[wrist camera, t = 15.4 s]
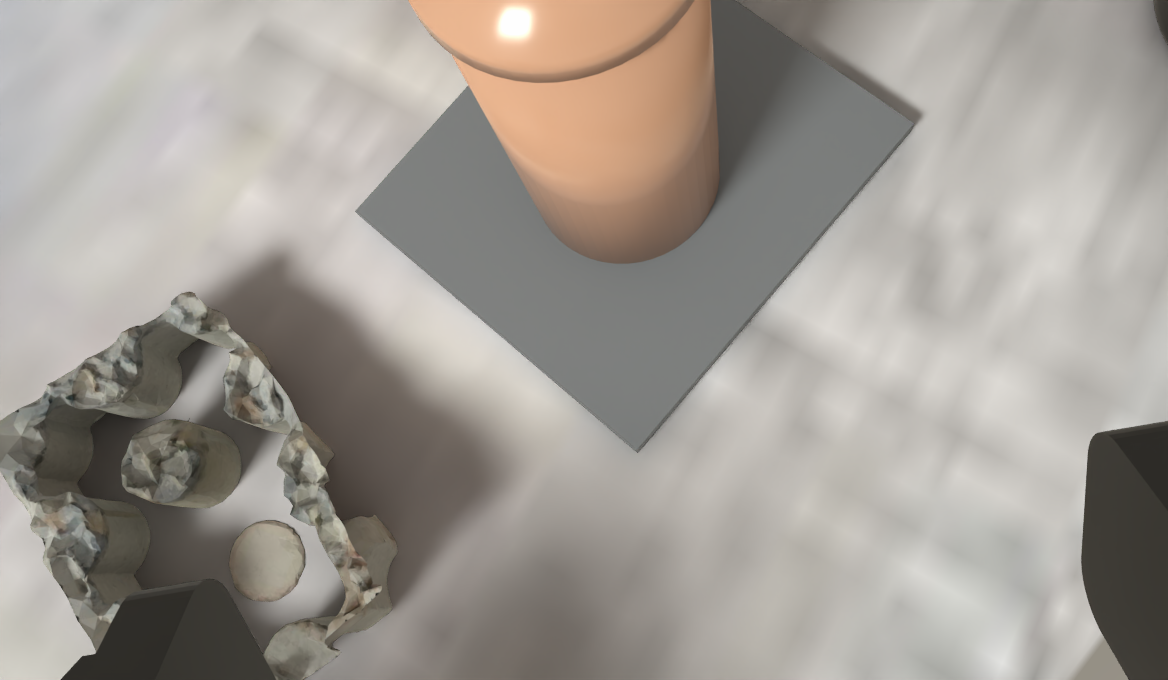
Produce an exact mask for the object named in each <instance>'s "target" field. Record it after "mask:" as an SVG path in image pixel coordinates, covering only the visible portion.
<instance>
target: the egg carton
mask: <svg viewBox="0 0 1168 680" xmlns="http://www.w3.org/2000/svg"><path fill="white" fill-rule="evenodd" d="M171 305H172V306H171V308H170V309H169V310H167V311H166V312H165V313H163V314H162V315H160V316H159V317H158V318H156V319H154V320H152V321H150V322H149V323H147V324H145V325H142V326H135V327H132V328H129V329H127V330H126V331H124V332H122V333H121V335H120V336H119V338H118V339H117V341H116V342H115V343H114V344H113V345H112V346H110V347H109V348H107V349H106V350H104V351H102V352H100V353H98V354H96V355H94V356H92V357H89V358H87V359H86V360H85V361H84V362H83V363H82V364H81V365H79V366H78V367H77V368H76V369H74V370H73V371H71V372H69V373H67V374H66V375H64V376H62V377H61V378H59V379H57V380H56V381H54V382H52V383H49V384H47V389H46V391H45V393H44V394H43V396H42V397H41V398H40V399H38V400H37V401H35V402H33V403H31V404H29V405H27V406H24V407H22V408H20V409H18V410H17V411H15V412H13V413H11V414H10V415H8V416H7V417H5V418H4V419H3V420H1V421H0V472H1V473H2V475H3V477H4V478H5V480H6V481H7V483H8V485H9V487H10V489H11V490H12V492H13V494H14V495H15V496H16V497H17V498H18V499H19V500H20V501H21V502H22V503H23V504H24V505H25V507H26V509H27V511H28V513H29V514H30V516H31V519H32V522H31V525H30V526H31V530H32V531H33V532H34V533H35V534H37V535H38V536H39V537H41V538H42V539H43V542H44V545H45V548H46V549H45V552H44V556H43V563H44V564H45V565H46V567H47V568H48V570H49V571H50V573H51V574H52V575H53V577H54V578H55V579H56V581H57V582H58V583H59V585H60V586H61V588H62V589H63V591H64V593H65V594H66V596H67V598H68V600H69V602H70V604H71V606H72V609H73V611H74V613H75V615H76V618H77V620H78V622H79V623H80V624H81V626H82V627H83V629H84V630H85V632H86V633H87V635H88V636H89V637H90V639H91V640H92V643H93V645H94V648H95V650H96V652H97V650H98V648H99V646H100V644H101V642H102V640H103V638H104V636H105V634H106V632H107V630H108V628H109V626H110V624H111V622H112V621H113V619H114V617H115V615H116V613H117V611H118V609H119V607H120V605H121V604H122V602H123V601H124V600H125V599H126V597H127V596H129V595H130V594H131V593H133V592H136V591H140V590H142V589H141V587H140V586H139V584H138V582H137V581H136V579H135V576H134V574H135V572H136V571H137V569H138V568H139V567H140V566H141V565H142V563H143V561H144V559H145V557H146V555H147V552H148V549H149V545H150V529H149V526H148V523H147V521H146V519H145V517H144V515H143V514H142V513H141V511H140V510H139V509H138V508H137V507H135V506H133V505H132V504H130V503H126V502H121V501H111V500H103V499H95V498H87V497H85V496H83V494H82V492H81V491H80V489H79V487H78V484H77V483H78V481H79V480H80V479H81V477H82V476H83V475H84V473H85V472H86V470H87V469H88V467H89V465H90V462H91V460H92V457H93V438H92V434H91V430H90V427H91V426H92V425H93V424H94V422H96V421H98V420H99V419H100V418H101V417H102V416H103V415H105V414H106V413H108V412H109V413H113V414H117V415H121V416H126V417H130V418H144V419H150V418H153V417H156V416H159V415H161V414H162V413H164V412H165V411H167V410H168V409H169V408H170V407H171V406H172V404H173V403H174V402H175V400H176V399H177V397H178V394H179V392H180V389H181V386H182V370H181V367H180V364H179V361H178V356H179V354H180V353H181V352H183V351H184V350H185V349H186V348H188V347H189V346H190V345H191V344H192V343H194V342H195V341H196V340H198V339H202V340H204V341H206V342H209V343H211V344H214V345H217V346H220V347H223V348H227V349H232V348H236V349H235V350H233V351H231V352H229V355H230V363H229V365H228V368H227V370H226V373H225V375H224V377H223V382H224V388H225V394H226V402H225V406H224V409H223V410H224V411H225V412H226V413H227V414H228V415H229V416H230V417H231V418H232V419H235V420H241V421H243V422H245V423H248V424H250V425H253V426H256V427H259V428H262V429H266V430H269V431H273V432H277V433H282V434H286V435H287V434H289V435H288V436H287V438H286V440H285V441H284V444H283V447H282V449H281V452H280V454H279V457H278V462H277V465H278V466H279V467H280V468H281V469H282V470H283V471H284V472H285V479H284V496H285V497H287V498H288V499H289V500H290V502H291V503H292V505H293V508H292V511H291V513H290V515H292V516H293V517H294V518H296V519H298V520H300V521H302V522H304V523H306V524H308V525H311V526H316V529H317V532H318V536H319V539H320V541H321V543H322V545H323V547H324V549H325V551H326V553H327V554H328V556H329V558H330V559H331V561H332V562H333V564H334V565H335V567H336V569H337V570H338V572H339V574H340V577H341V579H342V582H343V584H344V588H345V594H346V599H345V601H344V604H343V606H342V608H341V610H340V612H339V614H338V615H337V616H327V617H319V618H310V619H302V620H299V621H296V622H293V623H289V624H286V625H285V626H284V627H283V628H281V629H280V630H279V631H278V632H277V633H276V634H275V635H274V636H273V637H272V639H271V641H270V643H269V645H268V647H267V648H266V650H265V652H264V655H263V656H264V658H265V660H266V662H267V663H268V665H269V667H270V669H271V671H272V673H273V674H274V676H275V678H276V680H303V679H305V678H307V677H309V676H310V675H312V674H313V673H314V672H316V671H317V670H319V669H320V668H322V667H323V666H325V665H326V664H327V663H329V662H330V661H332V660H333V659H334V658H336V657H337V656H338V655H339V654H340V653H341V651H339V650H337V649H335V648H333V646H332V643H333V642H334V641H335V640H337V639H338V638H339V637H340V636H341V635H343V634H345V633H351V632H360V631H362V630H367V629H368V628H370V627H372V626H373V625H374V624H376V623H377V622H378V621H379V620H381V619H382V618H383V617H385V616H386V615H387V614H388V613H389V612H391V611H392V603H391V601H390V596H389V592H388V588H387V575H388V571H389V568H390V564H391V562H392V560H393V559H394V557H395V556H396V554H397V553H398V549H397V544H396V542H395V539H394V538H393V536H392V535H391V533H390V532H389V531H388V530H387V528H386V527H385V526H384V525H383V523H382V522H381V521H380V520H379V519H378V518H377V516H376V515H374V516H373V517H363V516H359V517H356V518H352V519H348V520H344V521H341V520H340V519H339V518H338V517H337V516H336V510H335V508H334V507H333V505H332V502H331V500H330V498H329V495H328V493H327V491H326V489H325V487H324V486H325V483H326V482H328V481H330V479H329V476H328V474H327V471H326V469H325V468H326V467H327V465H328V463H329V461H330V460H331V459H332V458H333V456H334V453H333V452H332V450H331V449H330V448H329V447H328V446H327V445H326V444H325V443H323V441H322V440H321V439H320V438H319V437H318V436H317V435H316V434H315V433H314V432H313V431H312V430H311V429H310V428H309V427H308V425H307V424H306V423H304V422H300V420H299V418H298V416H297V414H296V412H295V410H294V408H293V405H292V403H291V401H290V399H289V397H288V395H287V394H286V393H285V391H284V390H283V389H282V387H281V386H280V385H279V383H278V382H277V381H276V379H275V378H274V376H273V375H272V374H271V373H270V372H269V370H270V369H271V365H270V364H269V362H268V360H267V357H266V356H265V355H264V354H263V352H262V351H261V350H260V349H259V348H258V347H257V346H256V345H255V344H254V343H252V342H245V341H244V340H243V339H242V338H241V337H240V336H239V335H238V334H236V333H235V332H234V331H233V330H232V328H231V327H230V326H229V323H228V320H227V318H226V317H225V316H224V315H223V314H222V313H221V312H219V311H216V310H213V309H211V308H209V307H207V306H206V305H205V304H204V303H203V302H202V301H200V300H199V299H198V298H197V297H196V295H195V293H192V292H186V293H182V294H180V295H178V296H177V297H176V298H174V299H173V300H172V301H171ZM188 421H189V420H188ZM188 421H182V420H176V419H172V420H164V421H162V422H159V423H157V424H154V425H152V426H149V427H148V428H146V429H144V430H142V431H140V432H138V433H136V434H134V435H133V436H132V439H131V441H130V444H129V446H128V449H127V452H126V454H125V456H124V458H123V460H122V464H121V475H122V486H123V487H124V488H125V490H126V491H127V492H129V493H131V494H134V495H136V496H139V497H141V498H143V499H145V500H148V501H150V502H152V503H156V504H163V505H172V506H179V507H190V508H210V507H212V506H214V505H217V504H219V503H221V502H223V501H224V500H225V499H226V498H227V497H228V496H229V495H230V494H231V493H232V492H233V490H234V489H235V487H236V486H237V484H238V482H239V479H240V475H241V457H240V452H239V449H238V447H237V446H236V444H235V443H234V441H233V440H232V439H231V438H230V437H229V436H227V435H226V434H225V433H223V432H220V431H217V430H215V429H211V428H207V427H204V426H200V425H197V424H194V423H191V422H188ZM304 560H305V550H304V548H303V545H302V542H301V540H300V537H299V536H298V535H297V534H296V533H294V532H293V529H292V528H289V527H288V525H286V524H284V523H280V522H277V521H267V520H266V521H262V522H257V523H254V524H253V525H251V526H249V527H247V528H246V529H245V530H244V531H243V532H242V533H241V534H240V535H239V537H238V538H237V539H236V541H235V543H234V545H233V547H232V550H231V553H230V560H229V568H230V571H231V575H232V578H233V582H234V585H235V588H236V589H237V590H238V591H239V592H240V593H241V594H242V595H244V596H246V597H247V598H249V599H251V600H256V601H267V602H271V601H275V600H279V599H281V598H282V597H284V596H286V595H287V594H289V593H290V592H291V591H292V590H293V588H294V587H295V586H296V585H297V583H298V580H299V578H300V577H301V574H302V572H303V569H304V567H305V562H304Z"/></svg>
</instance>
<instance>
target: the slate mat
mask: <svg viewBox="0 0 1168 680" xmlns="http://www.w3.org/2000/svg"><path fill="white" fill-rule="evenodd" d="M711 18H712V35H713V53H714V70H715V88H716V106H717V123H718V141H719V158H720V180H719V186H718V192H717V195H716V198H715V201H714V204H713V206H712V208H711V210H710V212H709V214H708V216H707V217H706V219H705V220H704V222H703V223H702V225H701V226H700V227H699V228H698V229H697V230H696V232H695V233H694V234H693V235H692V236H691V237H689V238H688V239H687V240H686V241H685V242H684V243H682V244H681V245H679V246H678V247H677V248H675V249H673V250H671V251H670V252H668V253H666V254H664V255H661V256H659V257H656V258H654V259H651V260H647V261H643V262H637V263H629V264H614V263H607V262H601V261H597V260H593V259H590V258H588V257H585V256H583V255H580V254H579V253H577V252H575V251H573V250H572V249H570V248H569V247H567V246H566V245H565V244H563V243H562V242H561V241H560V240H559V239H558V238H557V237H556V236H555V235H554V234H553V233H552V232H551V230H550V229H549V228H548V226H547V225H546V223H545V222H544V220H543V218H542V216H541V214H540V213H539V211H538V209H537V207H536V205H535V204H534V202H533V200H532V198H531V196H530V195H529V193H528V191H527V189H526V187H525V186H524V184H523V182H522V180H521V178H520V177H519V175H518V173H517V171H516V169H515V168H514V166H513V164H512V162H511V160H510V159H509V157H508V155H507V153H506V152H505V150H504V148H503V146H502V144H501V143H500V141H499V139H498V137H497V135H496V134H495V132H494V130H493V128H492V126H491V125H490V123H489V121H488V119H487V117H486V116H485V114H484V112H483V110H482V108H481V107H480V105H479V103H478V101H477V99H476V98H475V96H474V94H473V92H472V90H471V89H470V87H469V85H468V87H467V88H466V89H465V90H464V91H463V92H462V93H461V94H460V95H459V97H458V98H457V99H456V100H455V101H454V102H453V103H452V104H451V105H450V107H449V108H448V109H447V110H446V111H445V112H444V113H443V114H442V115H441V117H440V118H439V119H438V120H437V121H436V122H435V123H434V124H433V125H432V127H431V128H430V129H429V130H428V131H427V132H426V133H425V134H424V135H423V137H422V138H421V139H420V140H419V141H418V142H417V143H416V144H415V145H414V147H413V148H412V149H411V150H410V151H409V152H408V153H407V154H406V155H405V157H404V158H403V159H402V160H401V161H400V162H399V163H398V164H397V165H396V167H395V168H394V169H393V170H392V171H391V172H390V173H389V174H388V175H387V177H386V178H385V179H384V180H383V181H382V182H381V183H380V184H379V185H378V187H377V188H376V189H375V190H374V191H373V192H372V193H371V194H370V195H369V197H368V198H367V199H366V200H365V201H364V202H363V203H362V204H361V205H360V207H359V208H358V209H357V210H356V211H355V212H356V213H357V214H358V215H359V216H360V217H362V218H363V219H364V220H365V221H366V222H367V223H369V224H370V225H371V226H372V227H373V228H374V229H376V230H377V231H378V232H379V233H380V234H382V235H383V236H384V237H385V238H386V239H387V240H389V241H390V242H391V243H392V244H393V245H394V246H396V247H397V248H398V249H399V250H400V251H401V252H403V253H404V254H405V255H406V256H407V257H408V258H410V259H411V260H412V261H413V262H414V263H416V264H417V265H418V266H419V267H420V268H421V269H423V270H424V271H425V272H426V273H427V274H428V275H430V276H431V277H432V278H433V279H434V280H435V281H437V282H438V283H439V284H440V285H441V286H443V287H444V288H445V289H446V290H447V291H448V292H450V293H451V294H452V295H453V296H454V297H455V298H457V299H458V300H459V301H460V302H461V303H462V304H464V305H465V306H466V307H467V308H468V309H470V310H471V311H472V312H473V313H474V314H475V315H477V316H478V317H479V318H480V319H481V320H482V321H484V322H485V323H486V324H487V325H488V326H489V327H491V328H492V329H493V330H494V331H495V332H496V333H498V334H499V335H500V336H501V337H502V338H504V339H505V340H506V341H507V342H508V343H509V344H511V345H512V346H513V347H514V348H515V349H516V350H518V351H519V352H520V353H521V354H522V355H523V356H525V357H526V358H527V359H528V360H529V361H531V362H532V363H533V364H534V365H535V366H536V367H538V368H539V369H540V370H541V371H542V372H543V373H545V374H546V375H547V376H548V377H549V378H550V379H552V380H553V381H554V382H555V383H556V384H557V385H559V386H560V387H561V388H562V389H563V390H565V391H566V392H567V393H568V394H569V395H570V396H572V397H573V398H574V399H575V400H576V401H577V402H579V403H580V404H581V405H582V406H583V407H584V408H586V409H587V410H588V411H589V412H590V413H592V414H593V415H594V416H595V417H596V418H597V419H599V420H600V421H601V422H602V423H603V424H604V425H606V426H607V427H608V428H609V429H610V430H611V431H613V432H614V433H615V434H616V435H617V436H619V437H620V438H621V439H622V440H623V441H624V442H626V443H627V444H628V445H629V446H630V447H631V448H633V449H634V450H635V451H636V452H637V453H638V452H639V451H640V449H641V448H642V447H643V446H644V445H645V443H646V442H647V441H648V440H649V439H650V438H651V436H652V435H653V434H654V433H655V432H656V431H657V429H658V428H659V427H660V426H661V425H662V423H663V422H664V421H665V420H666V419H667V418H668V416H669V415H670V414H671V413H672V412H673V410H674V409H675V408H676V407H677V406H678V405H679V403H680V402H681V401H682V400H683V399H684V398H685V396H686V395H687V394H688V393H689V392H690V390H691V389H692V388H693V387H694V386H695V385H696V383H697V382H698V381H699V380H700V379H701V378H702V376H703V375H704V374H705V373H706V372H707V370H708V369H709V368H710V367H711V366H712V365H713V363H714V362H715V361H716V360H717V359H718V358H719V356H720V355H721V354H722V353H723V352H724V350H725V349H726V348H727V347H728V346H729V345H730V343H731V342H732V341H733V340H734V339H735V338H736V336H737V335H738V334H739V333H740V332H741V330H742V329H743V328H744V327H745V326H746V325H747V323H748V322H749V321H750V320H751V319H752V318H753V316H754V315H755V314H756V313H757V312H758V310H759V309H760V308H761V307H762V306H763V305H764V303H765V302H766V301H767V300H768V299H769V298H770V296H771V295H772V294H773V293H774V292H775V290H776V289H777V288H778V287H779V286H780V285H781V283H782V282H783V281H784V280H785V279H786V277H787V276H788V275H789V274H790V273H791V272H792V270H793V269H794V268H795V267H796V266H797V265H798V263H799V262H800V261H801V260H802V259H803V257H804V256H805V255H806V254H807V253H808V252H809V250H810V249H811V248H812V247H813V246H814V245H815V243H816V242H817V241H818V240H819V239H820V237H821V236H822V235H823V234H824V233H825V232H826V230H827V229H828V228H829V227H830V226H831V225H832V223H833V222H834V221H835V220H836V219H837V217H838V216H839V215H840V214H841V213H842V212H843V210H844V209H845V208H846V207H847V206H848V205H849V203H850V202H851V201H852V200H853V199H854V197H855V196H856V195H857V194H858V193H859V192H860V190H861V189H862V188H863V187H864V186H865V185H866V183H867V182H868V181H869V180H870V179H871V177H872V176H873V175H874V174H875V173H876V172H877V170H878V169H879V168H880V167H881V166H882V164H883V163H884V162H885V161H886V160H887V159H888V157H889V156H890V155H891V154H892V153H893V152H894V150H895V149H896V148H897V147H898V146H899V144H900V143H901V142H902V141H903V140H904V139H905V137H906V136H907V135H908V134H909V133H910V132H911V130H912V127H913V125H914V123H913V122H911V121H910V120H909V119H907V118H906V117H904V116H903V115H901V114H900V113H898V112H897V111H895V110H894V109H893V108H891V107H890V106H888V105H887V104H885V103H884V102H882V101H881V100H879V99H878V98H877V97H875V96H874V95H872V94H871V93H869V92H868V91H866V90H865V89H863V88H862V87H860V86H859V85H858V84H856V83H855V82H853V81H852V80H850V79H849V78H847V77H846V76H844V75H843V74H842V73H840V72H839V71H837V70H836V69H834V68H833V67H831V66H830V65H828V64H827V63H825V62H824V61H823V60H821V59H820V58H818V57H817V56H815V55H814V54H812V53H811V52H809V51H808V50H807V49H805V48H804V47H802V46H801V45H799V44H798V43H796V42H795V41H793V40H792V39H791V38H789V37H788V36H786V35H785V34H783V33H782V32H780V31H779V30H777V29H776V28H774V27H773V26H772V25H770V24H769V23H767V22H766V21H764V20H763V19H761V18H760V17H758V16H757V15H756V14H754V13H753V12H751V11H750V10H748V9H747V8H745V7H744V6H742V5H741V4H739V3H738V2H737V1H735V0H711Z"/></svg>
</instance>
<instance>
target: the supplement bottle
mask: <svg viewBox="0 0 1168 680" xmlns="http://www.w3.org/2000/svg"><path fill="white" fill-rule="evenodd" d="M1153 1H1154V9H1155V14H1156V18H1157V22H1158V25H1159V28H1160V30H1161V33H1162V35H1163V37H1164V39H1165V41H1166V43H1167V45H1168V0H1153Z"/></svg>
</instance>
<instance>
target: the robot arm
mask: <svg viewBox="0 0 1168 680" xmlns="http://www.w3.org/2000/svg"><path fill="white" fill-rule="evenodd" d="M1081 564H1082V575H1083V581H1084V586H1085V590H1086V594H1087V598H1088V601H1089V604H1090V607H1091V610H1092V613H1093V615H1094V618H1095V620H1096V622H1097V625H1098V627H1099V629H1100V631H1101V632H1102V634H1103V636H1104V638H1105V639H1106V641H1107V643H1108V644H1109V646H1110V648H1111V650H1112V652H1113V653H1114V655H1115V657H1116V658H1117V660H1118V662H1119V664H1120V665H1121V667H1122V669H1123V670H1124V672H1125V674H1126V675H1127V677H1128V679H1129V680H1168V421H1165V422H1159V423H1153V424H1147V425H1141V426H1135V427H1129V428H1123V429H1117V430H1111V431H1105V432H1099V433H1097V434H1095V435H1094V436H1093V437H1092V439H1091V441H1090V445H1089V449H1088V460H1087V476H1086V492H1085V508H1084V524H1083V540H1082V556H1081ZM61 680H276V678H275V676H274V674H273V673H272V671H271V669H270V667H269V665H268V663H267V662H266V660H265V658H264V656H263V654H262V652H261V651H260V649H259V647H258V645H257V643H256V641H255V640H254V638H253V636H252V634H251V632H250V630H249V629H248V627H247V625H246V623H245V621H244V619H243V618H242V616H241V614H240V612H239V610H238V608H237V607H236V605H235V603H234V601H233V599H232V598H231V596H230V594H229V592H228V591H227V589H226V588H225V587H224V586H223V585H222V584H221V583H220V582H218V581H217V580H214V579H206V580H200V581H194V582H188V583H182V584H176V585H170V586H164V587H158V588H152V589H146V590H140V591H136V592H133V593H131V594H130V595H129V596H127V597H126V599H125V600H124V601H123V602H122V604H121V605H120V607H119V609H118V611H117V613H116V615H115V617H114V619H113V621H112V622H111V624H110V626H109V628H108V630H107V632H106V634H105V636H104V638H103V640H102V642H101V644H100V646H99V648H98V650H97V652H96V654H93V655H87V656H82V657H81V658H80V659H79V660H78V661H77V662H76V664H75V665H74V666H73V667H72V668H71V669H70V670H69V671H68V672H67V673H66V674H65V675H64V677H63V678H62V679H61Z"/></svg>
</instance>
